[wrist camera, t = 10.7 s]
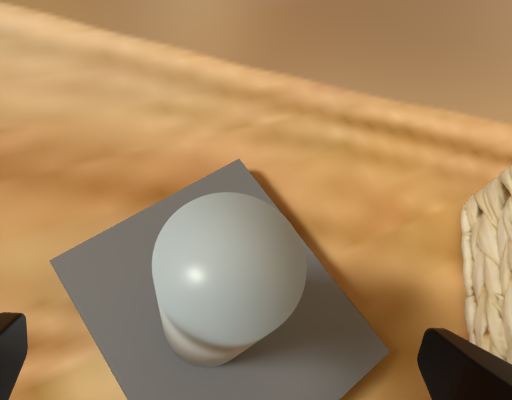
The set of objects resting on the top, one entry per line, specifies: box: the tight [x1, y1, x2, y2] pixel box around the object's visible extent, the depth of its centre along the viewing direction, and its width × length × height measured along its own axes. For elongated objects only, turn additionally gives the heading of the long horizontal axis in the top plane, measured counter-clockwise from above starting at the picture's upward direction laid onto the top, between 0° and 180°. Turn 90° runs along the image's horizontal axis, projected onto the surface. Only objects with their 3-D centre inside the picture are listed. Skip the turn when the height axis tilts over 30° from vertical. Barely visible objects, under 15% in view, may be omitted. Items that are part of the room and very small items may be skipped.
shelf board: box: [50, 159, 390, 400], centre depth 21 cm, size 14×12×2 cm
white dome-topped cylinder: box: [152, 192, 307, 368], centre depth 16 cm, size 4×4×10 cm
